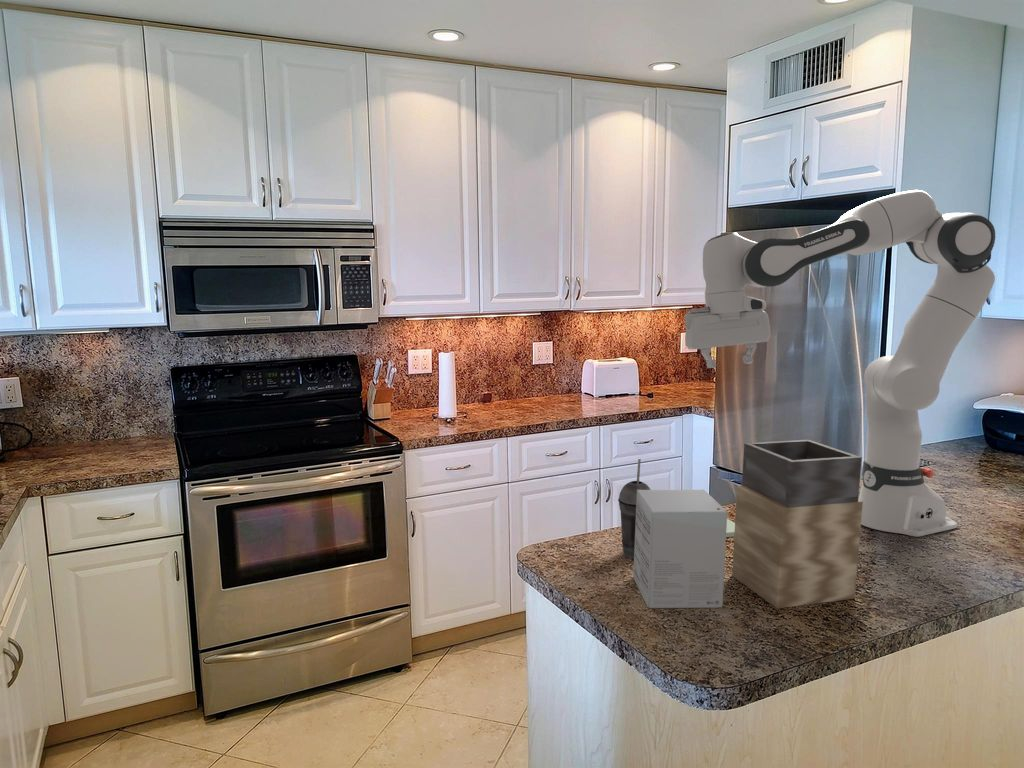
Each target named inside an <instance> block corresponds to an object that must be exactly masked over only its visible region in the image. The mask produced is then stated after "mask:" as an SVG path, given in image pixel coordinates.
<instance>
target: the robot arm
mask: <svg viewBox="0 0 1024 768" xmlns="http://www.w3.org/2000/svg"><path fill="white" fill-rule="evenodd" d="M995 241H996V229H995V227H994V225H993V222H992V221H990V220H989V219H988V218H987V217H985V216H983V215H981V214H978V213H975V212H951V213H950V212H949V213H940V211H939V210H938V209H937V206H936V203H935V201H934V199H933V198H932V196H931V195H930V194H929V193H927V192H926V191H924V190H921V189H920V190H919V189H914V190H907V191H901V192H896V193H892V194H889V195H886V196H882V197H879V198H876V199H873V200H870V201H867V202H865V203H863V204H861V205H859V206H856V207H855V208H853V209H851V210H848V211H847V212H846V213H843V215H841V216H840V217H839V219H838V220H837V221H835V222H834V223H832V224H831V225H828V226H827V227H824V228H821V229H818V230H816V231H815V230H814V231H812V232H810V233H807V234H804V235H802V236H798V237H794V238H776V237H775V238H774V237H773V238H765V239H762V240H760V241H758V242H757V241H753V240H751V239H748V238H746V237H743V236H741V235H739V234H738V232H734V231H733V232H726V233H721V234H719V235H716V236H714V237H711V238H710V239H708V240H707V241H706V242H705V244H704V245H703V250H702V274H703V276H702V277H703V279H704V281H705V290H704V300H705V307H700V308H691V309H690V310H689V311H687V312H686V313H685V315H684V325H685V332H684V333H685V334H684V335H685V336H684V337H685V338H684V340H685V342H684V343H685V346H686V347H687V349H688V350H700V354H701V355H702V357H703V359H704V360H705V362H706V368H707V369H712V368H713V369H714V368H716V367H717V360H716V359H713V358H712V357H711V353H712V351H711V350H712V348H720V347H729V346H738V345H739V346H740V345H745V347H746V349H747V351H746V354H745V355H744V356H743V355H742V362H743V364H746V365H749V364H753V362H754V358H753V357H754V354H755V353H756V350H757V348H758V347H757V343H759V344H760V343H767V342H769V340H770V338H771V335H772V334H771V324H770V319H769V315H768V313H767V312H766V311H764V310H766V308H767V302H766V301H765V300H764V299H759V298H756V297H753V296H749V295H746V289H745V288H746V287H747V286H748V287H749V286H750V287H755V288H768V287H777V286H779V285H782V284H784V283H785V282H787V281H788V280H790V279H791V278H792V277H793V276H794V275H795V273H797V272H798V271H799V270H801V269H803V268H805V267H807V266H810V265H813V264H815V263H818V262H820V261H823V260H827V259H829V258H831V257H834V256H838V255H844V254H845V255H846V254H848V255H852V256H862V255H863V256H864V255H868V254H872V253H876V252H880V251H883V250H887V249H889V248H892V247H895V246H898V245H900V244H903V243H905V244H906V245H907V247H908V249H909V251H910V252H911V254H912V255H913V256H914V257H915V258H916V259H918V260H919V261H920V262H923V263H926V264H930V265H931V264H932V265H937V266H936V267H937V270H936V271H937V273H936V276H935V280H934V281H933V283H932V285H931V286H930V288H929V289H928V290H927V292H926V293H925V295H923V298H922V299H921V301H920V303H919V304H918V306H917V307H916V309H915V310H914V312H913V314H912V315H911V316H910V318H909V320H908V321H907V322H906V324H905V325H904V329H903V333H902V337H901V339H900V342H899V345H898V346H897V349H896V351H895V353H894V354H893V355H885V356H881V357H878V358H876V359H874V360H873V361H871V362H870V363H869V364H868V365H867V367H866V368H865V371H864V376H863V378H864V384H865V405H866V406H865V407H866V408H865V409H866V418H867V419H866V421H867V435H866V447H865V449H866V451H865V459H864V461H863V462H862V466H861V478H862V484H861V487H860V490H859V496H858V500H860V501H863V506H862V517H861V526H864V527H867V528H869V529H873V530H878V531H880V532H881V531H882V532H888V533H894V534H903V535H907V536H910V537H924V536H927V535H933V534H936V533H940V532H941V533H942V532H945V531H949V530H950V531H951V530H953V529H957V528H958V524H957V522H956V521H955V520H953V519H952V518H950V517H948V516H947V507H946V501H945V499H943V498H942V496H941V495H939V494H938V493H937V492H936V491H934V490H933V489H932V488H931V487H930V486H929V485H927V484H926V483H925V479H924V477H926V478H927V479H928V478H929V479H932V478H933V477H934V476H935V471H934V469H932V468H927V467H924V468H921V467H920V460H921V449H922V440H923V438H922V437H923V433H922V429H921V426H920V419H919V411H920V410H924V409H926V408H928V407H930V406H931V405H932V404H933V403H934V402H935V401H936V400H937V399H938V396H939V395H940V390H941V389H940V387H941V386H940V383H941V381H942V379H943V376H944V374H945V372H946V369H947V367H948V365H949V362H950V360H951V358H952V355H953V353H954V352H955V349H956V348H957V346H958V345H959V343H960V342H961V340H962V339H963V337H964V335H965V334H966V332H967V331H968V330H969V329H970V327H971V325H972V324H973V322H974V321H975V319H976V318H977V316H978V315H979V313H980V312H981V311H982V308H983V307H984V305H985V304H986V301H987V300H988V297H989V296H990V293H991V291H992V289H993V286H994V285H995V284H994V283H995V279H996V276H995V274H994V271H993V270H992V268H991V267H989V265H987V264H989V263H990V261H991V259H992V251H993V248H994V247H995Z"/></svg>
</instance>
